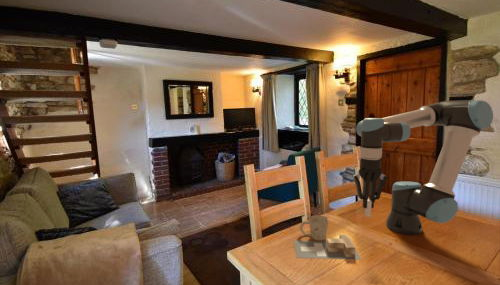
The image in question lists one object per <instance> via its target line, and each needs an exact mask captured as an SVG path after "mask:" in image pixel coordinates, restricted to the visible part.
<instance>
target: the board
mask: <svg viewBox="0 0 500 285" xmlns="http://www.w3.org/2000/svg"><path fill="white" fill-rule="evenodd" d="M293 246H294V252H295V258H297V259H324V260H326V259H327V260H328V259H329V260H359V261H362V260H363V259H362V258H361V256H360V253H359V252H358V251H357V250H356V251H355V257H346V256H345V254H344V252H329V251H328V249H327V240H326V241H325V240H321V241H319V240H293Z"/></svg>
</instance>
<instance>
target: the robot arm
mask: <svg viewBox="0 0 500 285" xmlns="http://www.w3.org/2000/svg"><path fill="white" fill-rule="evenodd" d="M493 119H494V111H493V108H492V106H491V105H490V104H489V102H488V101H485V100H482V99H481V100H480V99H479V100H478V99H477V100H476V99H469V100H468V99H467V100H445V101H440V102H436V103H431V104H428V105H423V106H421V107H419V108H418V109H416V110H412V111H408V112H404V113H399V114H394V115H390V116H386V117H381V118H379V117H377V118H375V117H366V118H364V119H363V120H361V121H359V122H358V123H357V124H356V127H355V128H356V129H355V130H356V134H357V135H358V136H359V137H361V138H360V158H359V170H358V171H357V173H355V174H352V178H353V179H354V184H355V188H356V193H357V197H358V198H359V199H360V200H362V208H364V215H365V216H366V218H372V209H374V208H375V206H374V205H375V203H376V200H380V198H381V195H382V192H383V189H384V185H385V182H386V181H387V180H388V178H389V177H388V176H386V175H385V174H384V173H382V172H383V171H382V159H381V158H382V157H383V156H382V155H383V145H384V143H393V142H395V143H400V142H404V141H408V139H409V138H410V136H411V129H413V128H418V127H422V126H423V127H430V126H440V127H441V126H442V127H443V126H444V127H445V129H446V131H447V135H446V137H445V139H444V142H443V145H442V147H441V150H440V153H439V155H438V157H437V161H436V162H435V165H434V168H433V169H432V170H433V171H432V173H431V175H430V179H429V181H428V182H427V183H424V184H423V186H422V184H421V183H419V182H415V181H405V180H404V181H402V180H401V181H396V182H394V183H393V184H392V189H391V203H390V204H391V206H390V207H391V208H390V212H389V214H388V216H387V217H386V227H387V228H388V229H389V230H391V231H393V232H396V233H399V234H402V235H408V236H416V235H420V234H421V233H423V226H422V222H421V219H420V217H423V218H425V219H427V220H428V221H432V222H435V223H438V224H445V223H448V222H450V221H451V220H452V219H454V217H456V215H457V213H458V211H459V210H458V209H459V204H458V202H457V200H456V199H455V197H456V194H455V192H454V190H453V189H454V187H455V185H456V182H457V179H458V177H459V174H460V172H461V169H462V166H463V163H464V161H465V159H466V156H467V153H468V151H469V149H470V146H471V143H472V140H473V139H474V137H476V136H479V135H480V132H481V131H482V130H485V129H488V128H489V127H490V126H491V124H492V122H493ZM360 178H361V179H362V184H363V185H362V184H361V181H360ZM378 179H379V180H378ZM377 180H378V182H377Z"/></svg>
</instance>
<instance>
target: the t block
mask: <svg viewBox="0 0 500 285" xmlns="http://www.w3.org/2000/svg"><path fill="white" fill-rule="evenodd" d="M326 241H327V249H328V251H329V252H344V254H345V256H346V257H355V251H357V248H356V245H355V244H354V243H353V241H352V239H351V238H350V236H349V234H339V238H335V237H333V238H326Z"/></svg>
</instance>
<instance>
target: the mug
mask: <svg viewBox="0 0 500 285" xmlns="http://www.w3.org/2000/svg"><path fill="white" fill-rule="evenodd" d="M308 220H309V221H308ZM308 220H306V221H303V222H301V223H300V225H299V231H300V232H301V233H302V235H305V236H310V237H311V239H313V240H314V241H325V240H326V239H327V238H326V237H327V232H328V226H329V219H328V217H325V216H323V215H317V214H316V215H315V214H314V215H312V216H310V217H309V219H308ZM305 225H309V229H310V233H309V232H308V233H307V232H305V230H304V229H303V227H304V226H305Z"/></svg>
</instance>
